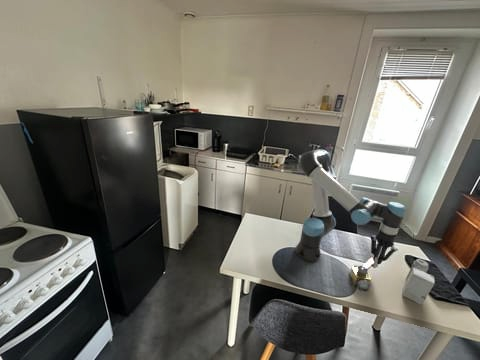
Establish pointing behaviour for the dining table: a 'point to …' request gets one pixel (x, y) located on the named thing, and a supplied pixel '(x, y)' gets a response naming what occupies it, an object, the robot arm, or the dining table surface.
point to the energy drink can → (419, 266)
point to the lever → (365, 267)
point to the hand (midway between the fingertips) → (374, 266)
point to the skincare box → (418, 286)
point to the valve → (360, 279)
